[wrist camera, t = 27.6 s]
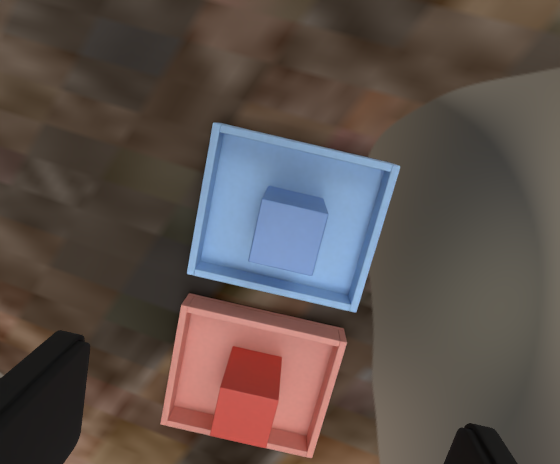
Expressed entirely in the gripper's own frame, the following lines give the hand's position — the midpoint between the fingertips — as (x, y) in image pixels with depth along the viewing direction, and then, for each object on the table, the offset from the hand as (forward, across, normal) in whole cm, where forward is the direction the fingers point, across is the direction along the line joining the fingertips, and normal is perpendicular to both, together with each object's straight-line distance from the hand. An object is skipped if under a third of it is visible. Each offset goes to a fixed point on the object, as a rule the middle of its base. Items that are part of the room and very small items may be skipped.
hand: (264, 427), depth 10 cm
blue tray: (+24, 0, 0) cm, 24 cm away
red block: (+24, 0, +15) cm, 28 cm away
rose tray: (+24, 0, +15) cm, 29 cm away
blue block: (+24, 0, 0) cm, 24 cm away
